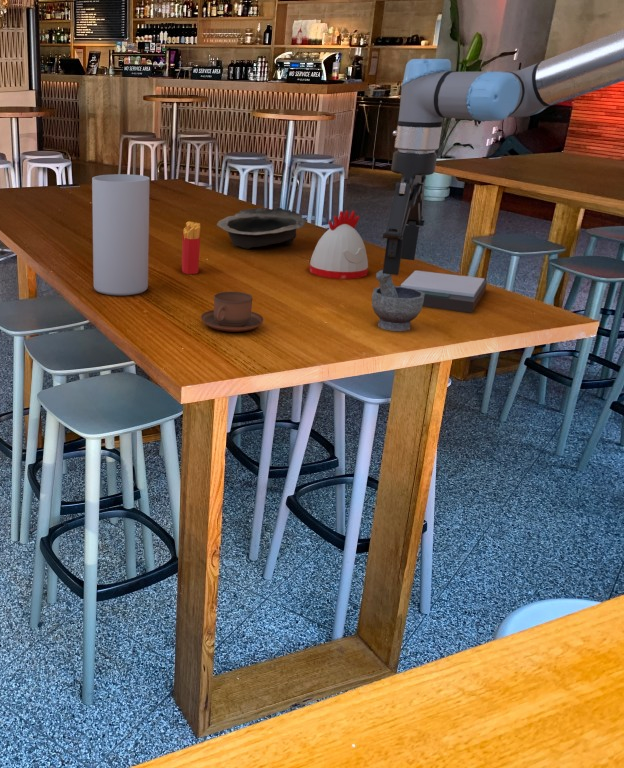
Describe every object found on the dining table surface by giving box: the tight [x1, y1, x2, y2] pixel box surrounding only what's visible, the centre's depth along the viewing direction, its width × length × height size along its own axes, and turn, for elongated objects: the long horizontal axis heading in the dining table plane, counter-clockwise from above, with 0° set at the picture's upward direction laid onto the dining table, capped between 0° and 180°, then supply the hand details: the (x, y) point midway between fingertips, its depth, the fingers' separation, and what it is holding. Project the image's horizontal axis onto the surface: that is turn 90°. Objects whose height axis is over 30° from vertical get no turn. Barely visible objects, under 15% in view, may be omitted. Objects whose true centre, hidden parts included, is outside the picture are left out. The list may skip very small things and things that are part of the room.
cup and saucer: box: [200, 291, 264, 333], centre depth 154 cm, size 12×12×6 cm
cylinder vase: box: [91, 173, 151, 297], centre depth 177 cm, size 12×12×25 cm
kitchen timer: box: [309, 210, 369, 280], centre depth 194 cm, size 14×14×15 cm
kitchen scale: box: [399, 270, 488, 314], centre depth 175 cm, size 20×16×3 cm
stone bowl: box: [216, 207, 308, 250], centre depth 224 cm, size 25×25×9 cm
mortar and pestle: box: [371, 269, 425, 332], centre depth 153 cm, size 11×9×12 cm
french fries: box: [181, 220, 201, 275], centre depth 195 cm, size 8×4×12 cm, turn 2°
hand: (398, 266), depth 151 cm, fingers open, 13 cm apart
